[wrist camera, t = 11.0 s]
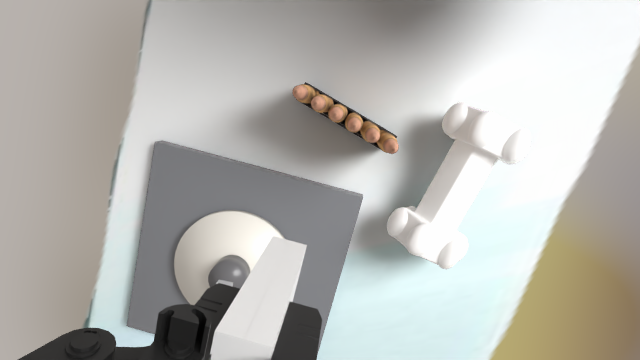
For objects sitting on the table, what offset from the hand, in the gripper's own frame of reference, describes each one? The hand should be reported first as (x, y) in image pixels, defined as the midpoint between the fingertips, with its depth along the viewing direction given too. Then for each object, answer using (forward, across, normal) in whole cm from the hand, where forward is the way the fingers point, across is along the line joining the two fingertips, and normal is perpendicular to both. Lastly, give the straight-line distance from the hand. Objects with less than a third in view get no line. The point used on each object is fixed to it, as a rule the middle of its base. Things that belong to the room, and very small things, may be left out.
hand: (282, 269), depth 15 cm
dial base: (+26, +7, +14) cm, 30 cm away
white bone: (+27, -13, -2) cm, 30 cm away
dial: (+24, +7, +16) cm, 30 cm away
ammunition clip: (+26, -1, -6) cm, 27 cm away
